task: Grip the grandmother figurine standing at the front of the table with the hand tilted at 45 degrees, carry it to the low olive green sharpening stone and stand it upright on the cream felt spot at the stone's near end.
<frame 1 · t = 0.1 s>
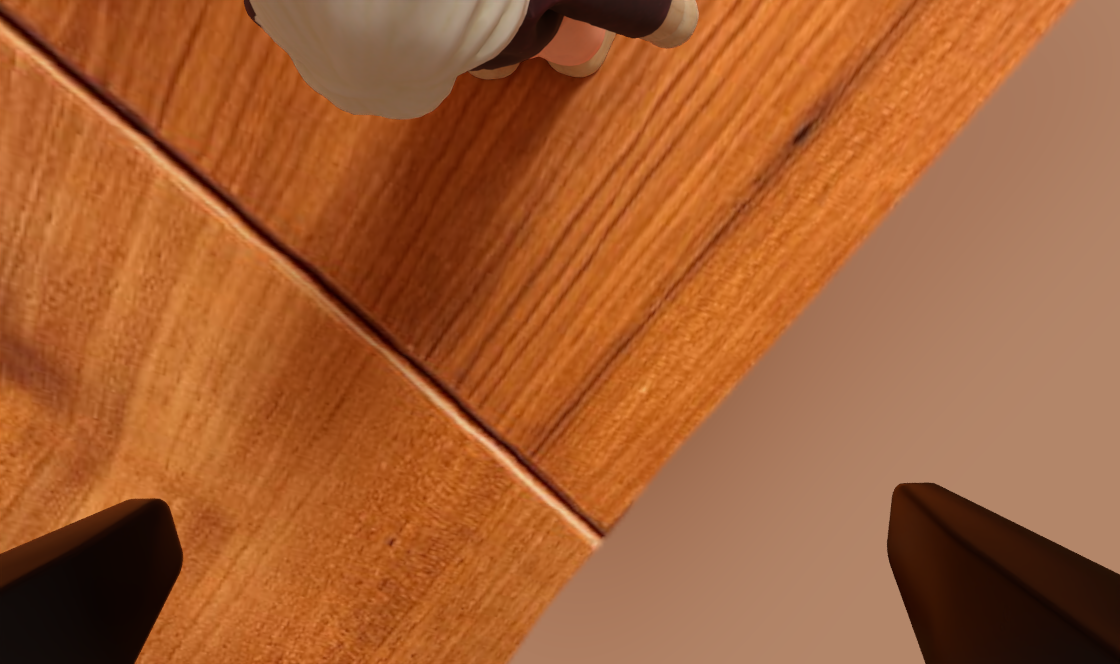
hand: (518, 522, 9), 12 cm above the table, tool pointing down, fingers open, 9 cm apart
grandmother figurine: (515, 19, 18), on the table
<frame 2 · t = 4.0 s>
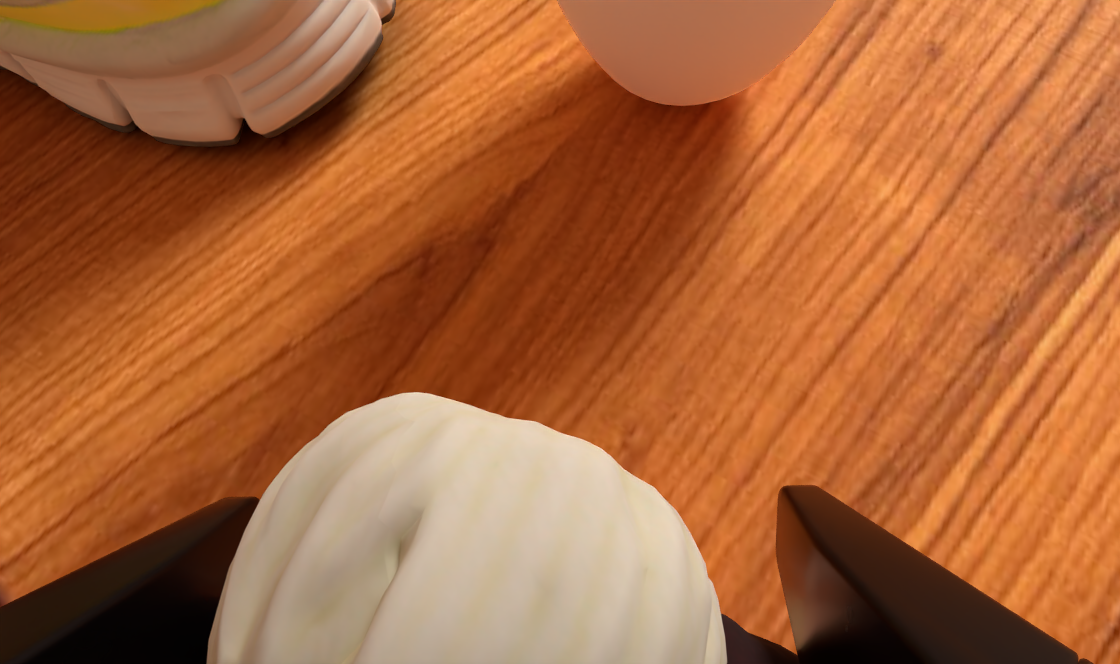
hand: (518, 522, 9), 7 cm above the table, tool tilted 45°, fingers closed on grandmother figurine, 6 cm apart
grandmother figurine: (569, 656, 15), on the table, touching gripper
sauce bottle: (682, 77, 21), on the table
running shoe: (0, 24, 25), on the table
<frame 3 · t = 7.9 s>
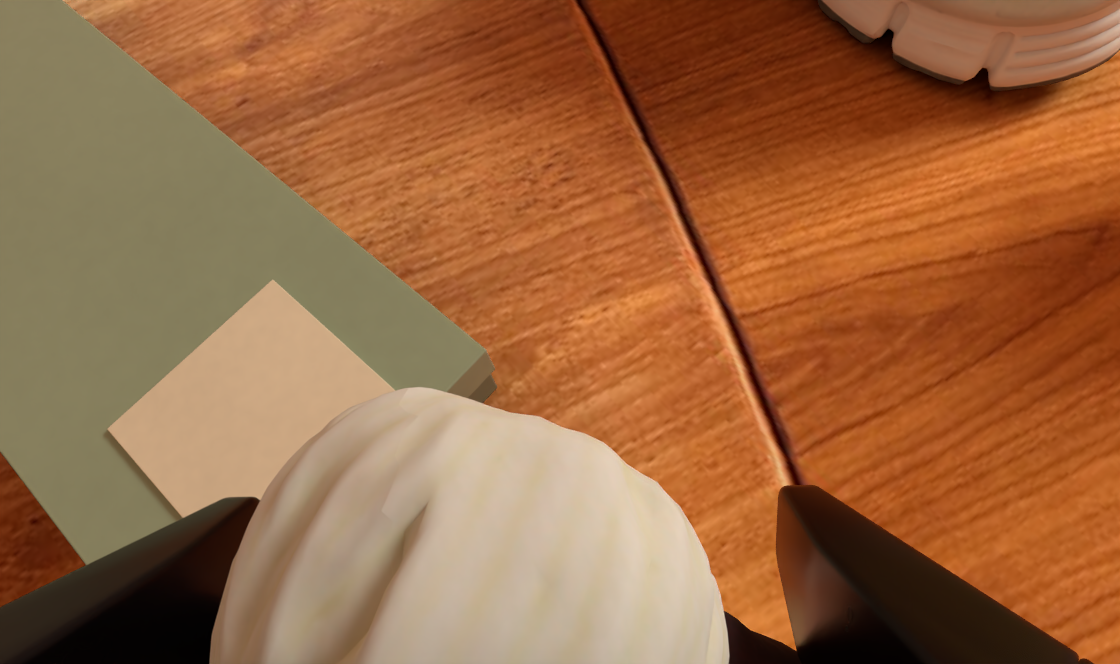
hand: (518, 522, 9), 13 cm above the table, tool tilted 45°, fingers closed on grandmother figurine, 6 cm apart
grandmother figurine: (569, 654, 15), point 6 cm above the table, touching gripper
olive green sharpening stone: (113, 248, 27), on the table
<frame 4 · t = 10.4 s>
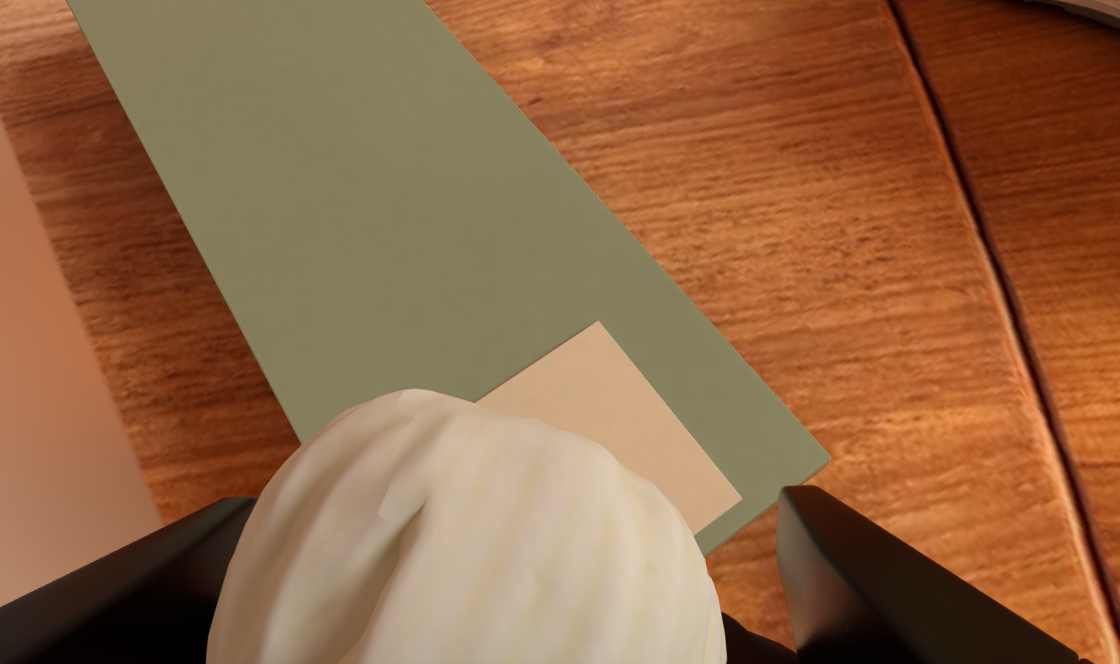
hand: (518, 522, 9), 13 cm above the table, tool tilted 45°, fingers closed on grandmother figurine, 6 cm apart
grandmother figurine: (569, 655, 15), point 6 cm above the table, touching gripper
olive green sharpening stone: (390, 229, 26), on the table
when the fingers open (11 cm above the table, at t = 12.2 s): grandmother figurine stays where it is, resting on olive green sharpening stone.
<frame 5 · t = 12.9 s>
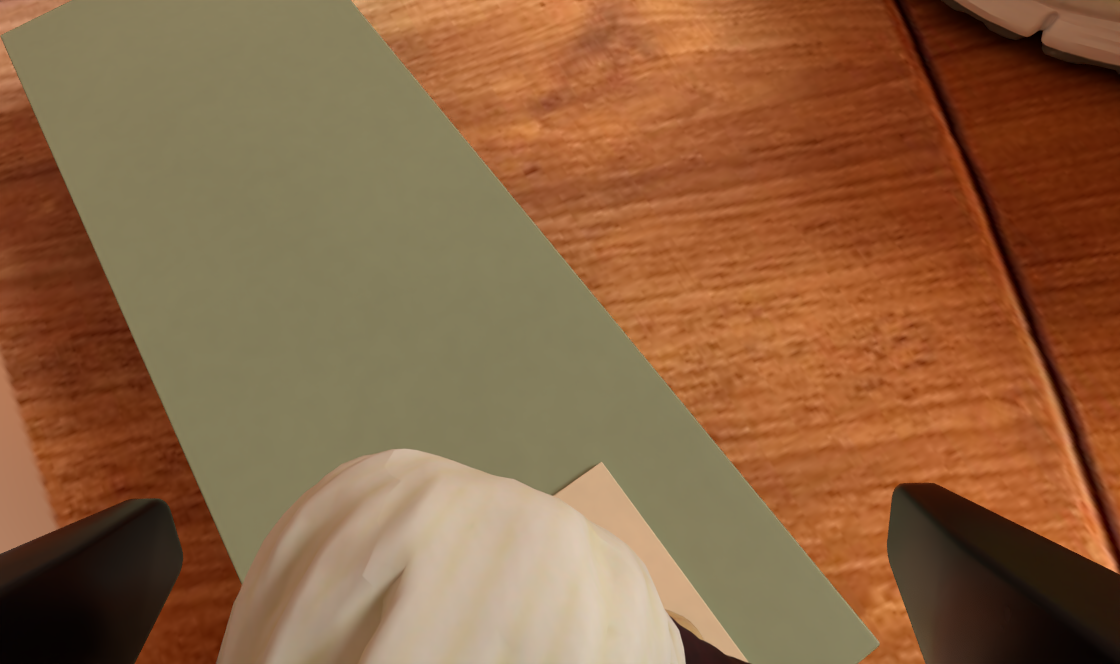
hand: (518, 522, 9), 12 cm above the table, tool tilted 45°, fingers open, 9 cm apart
olive green sharpening stone: (368, 319, 24), on the table
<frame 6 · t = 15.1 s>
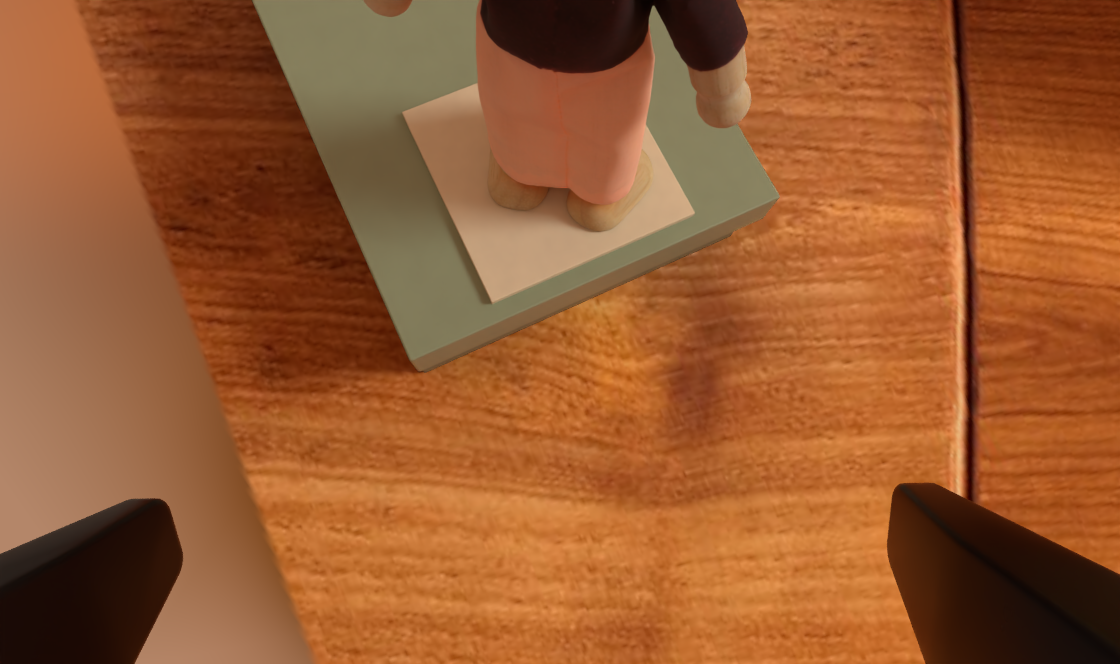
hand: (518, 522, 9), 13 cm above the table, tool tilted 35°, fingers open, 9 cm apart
grandmother figurine: (547, 172, 19), point 4 cm above the table, touching olive green sharpening stone
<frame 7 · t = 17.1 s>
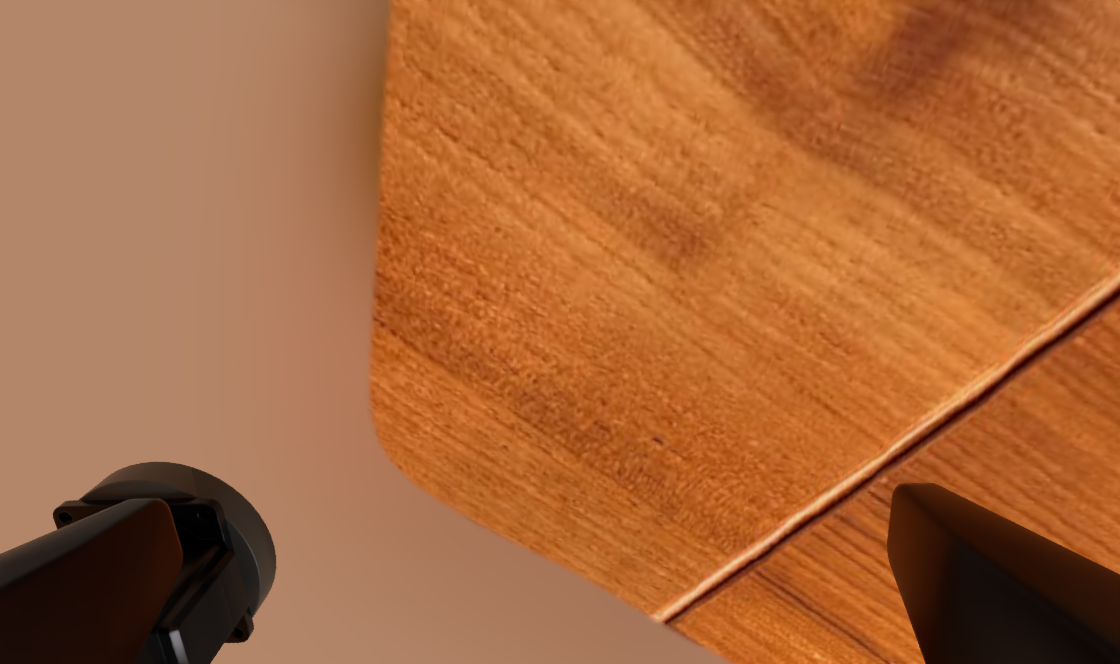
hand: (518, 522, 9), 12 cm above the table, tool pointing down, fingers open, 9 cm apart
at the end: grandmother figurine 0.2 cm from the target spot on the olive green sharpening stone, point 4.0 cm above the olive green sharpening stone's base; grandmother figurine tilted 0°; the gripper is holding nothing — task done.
